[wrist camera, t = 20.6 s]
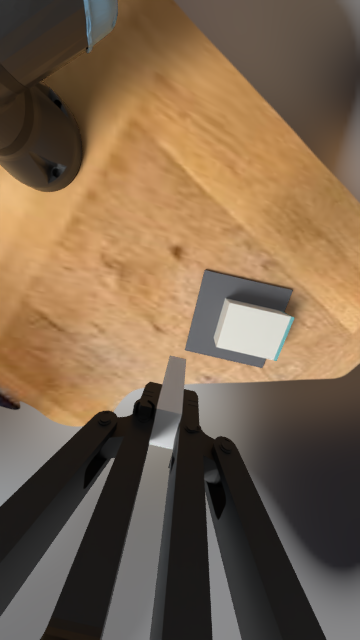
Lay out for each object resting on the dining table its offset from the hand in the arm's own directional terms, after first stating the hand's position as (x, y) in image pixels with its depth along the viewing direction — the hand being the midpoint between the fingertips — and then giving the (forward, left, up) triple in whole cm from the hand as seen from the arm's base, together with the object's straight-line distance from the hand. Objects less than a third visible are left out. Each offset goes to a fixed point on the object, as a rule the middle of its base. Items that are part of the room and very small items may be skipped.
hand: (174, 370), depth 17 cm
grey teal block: (0, +8, -21) cm, 23 cm away
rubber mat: (0, +11, -24) cm, 27 cm away
